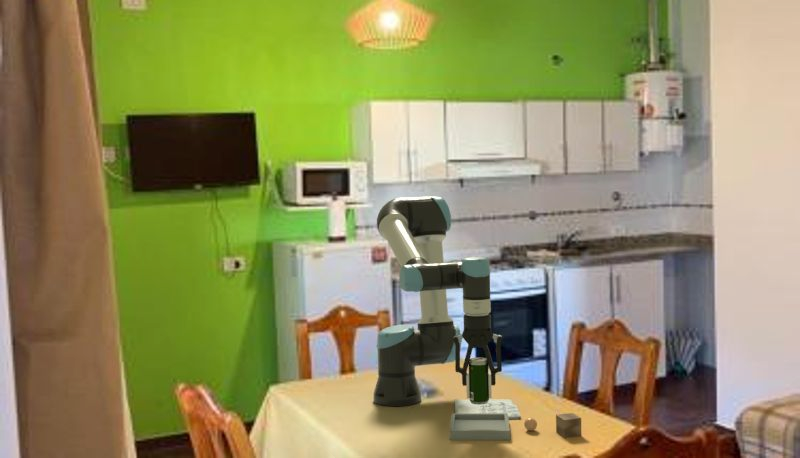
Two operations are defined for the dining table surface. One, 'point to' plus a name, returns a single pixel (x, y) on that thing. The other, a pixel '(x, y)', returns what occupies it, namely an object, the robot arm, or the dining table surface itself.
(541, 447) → the dining table surface
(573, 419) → the walnut block
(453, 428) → the dish
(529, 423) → the terracotta ball
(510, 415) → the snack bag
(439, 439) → the dining table surface
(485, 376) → the beer can
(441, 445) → the dining table surface
